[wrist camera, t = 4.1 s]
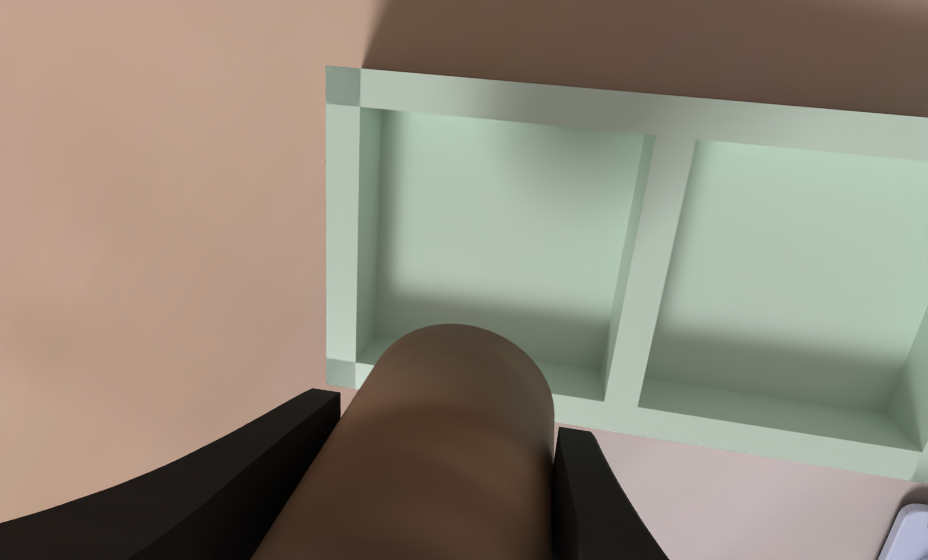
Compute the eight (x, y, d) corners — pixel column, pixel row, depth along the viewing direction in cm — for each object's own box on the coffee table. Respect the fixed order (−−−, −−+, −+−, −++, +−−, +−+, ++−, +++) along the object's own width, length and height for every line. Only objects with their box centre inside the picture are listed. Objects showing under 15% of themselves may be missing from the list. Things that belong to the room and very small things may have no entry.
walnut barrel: (566, 337, 12) (570, 574, 6) (542, 500, 13) (528, 804, 8) (368, 311, 12) (208, 506, 7) (367, 470, 14) (238, 734, 8)
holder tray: (1018, 126, 15) (1113, 133, 13) (893, 431, 19) (947, 486, 16) (360, 68, 18) (325, 65, 15) (355, 347, 21) (326, 384, 18)
